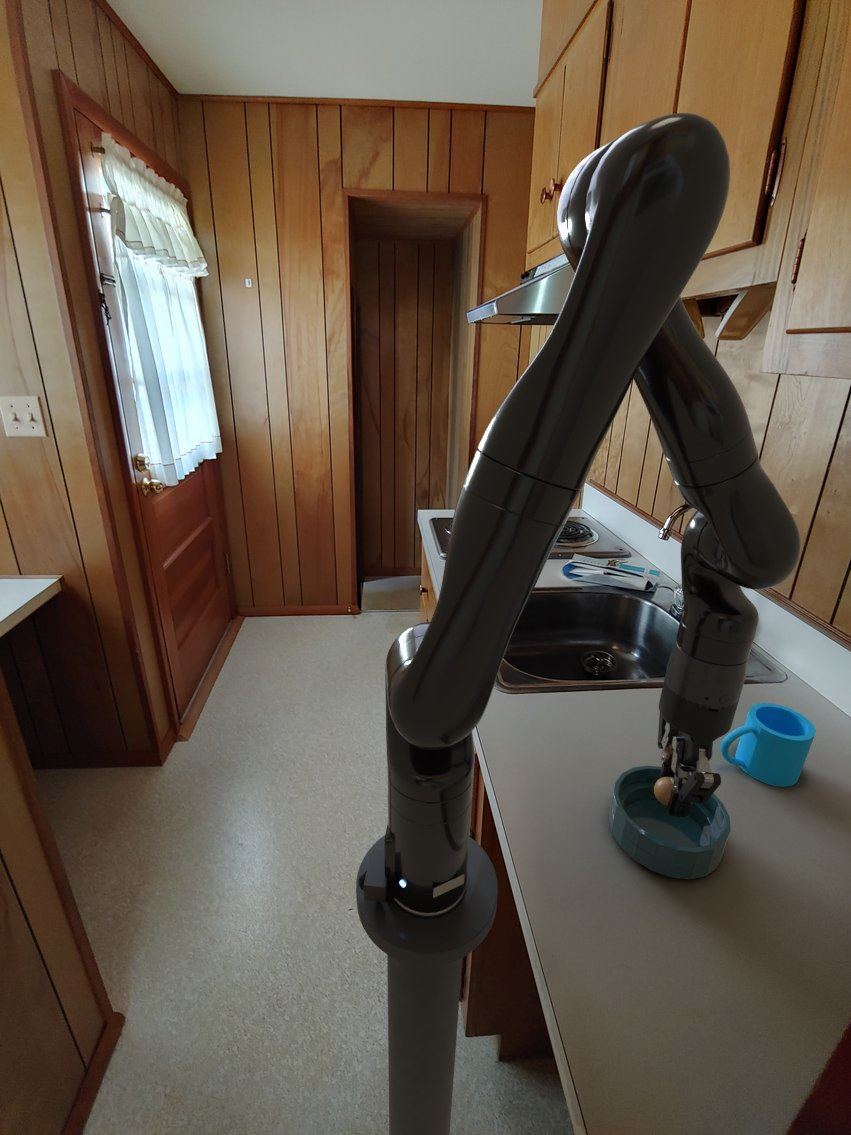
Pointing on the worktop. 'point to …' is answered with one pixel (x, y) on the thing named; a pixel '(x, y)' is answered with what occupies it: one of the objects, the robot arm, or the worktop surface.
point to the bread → (664, 789)
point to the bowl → (666, 828)
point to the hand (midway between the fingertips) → (671, 800)
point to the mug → (771, 744)
